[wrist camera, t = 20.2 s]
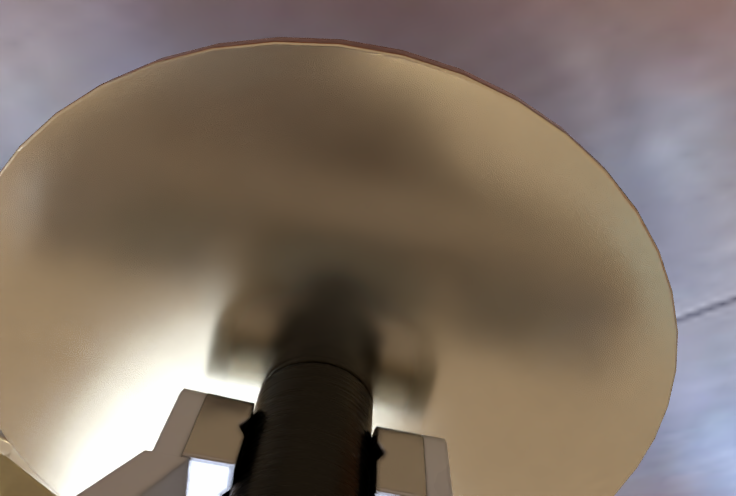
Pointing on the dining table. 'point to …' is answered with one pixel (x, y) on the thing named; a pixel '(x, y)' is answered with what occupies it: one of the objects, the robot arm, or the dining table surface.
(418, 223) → the pan lid
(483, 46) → the dining table surface
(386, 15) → the dining table surface
